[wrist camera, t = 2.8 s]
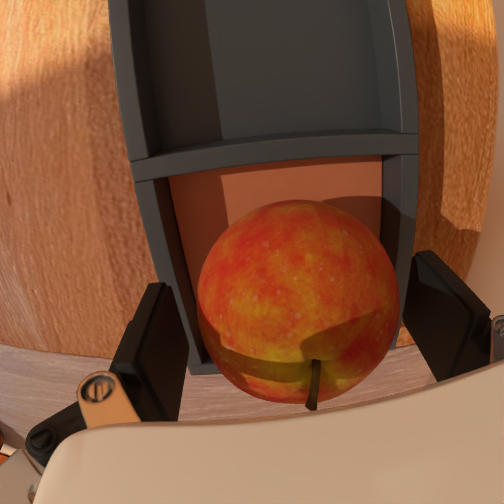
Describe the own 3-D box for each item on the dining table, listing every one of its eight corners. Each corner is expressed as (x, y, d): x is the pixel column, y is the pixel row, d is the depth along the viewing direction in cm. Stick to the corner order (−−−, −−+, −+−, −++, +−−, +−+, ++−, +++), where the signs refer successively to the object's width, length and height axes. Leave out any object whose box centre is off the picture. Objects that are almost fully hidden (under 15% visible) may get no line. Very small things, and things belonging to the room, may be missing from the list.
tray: (125, -45, 8) (106, -64, 6) (364, -63, 8) (381, -84, 6) (195, 345, 17) (190, 376, 15) (381, 322, 17) (395, 349, 15)
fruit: (299, 143, 12) (383, 209, 5) (385, 260, 14) (471, 384, 7) (174, 249, 14) (119, 394, 7) (273, 338, 16) (289, 479, 9)
